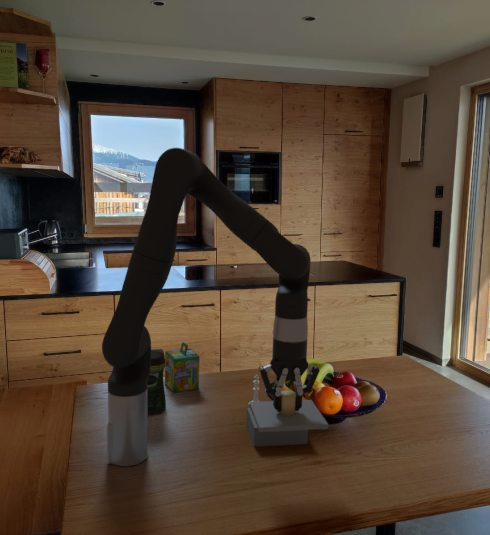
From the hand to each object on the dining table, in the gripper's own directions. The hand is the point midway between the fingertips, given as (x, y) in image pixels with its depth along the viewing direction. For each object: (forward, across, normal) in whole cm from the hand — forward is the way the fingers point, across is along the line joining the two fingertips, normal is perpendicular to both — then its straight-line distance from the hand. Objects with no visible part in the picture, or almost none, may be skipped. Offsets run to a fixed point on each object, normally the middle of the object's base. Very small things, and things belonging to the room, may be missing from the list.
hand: (287, 409), depth 111 cm
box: (+16, +2, +19) cm, 25 cm away
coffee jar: (+17, -32, +39) cm, 53 cm away
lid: (+2, 0, 0) cm, 2 cm away
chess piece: (+17, 0, +39) cm, 42 cm away
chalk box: (+17, -22, +57) cm, 63 cm away
